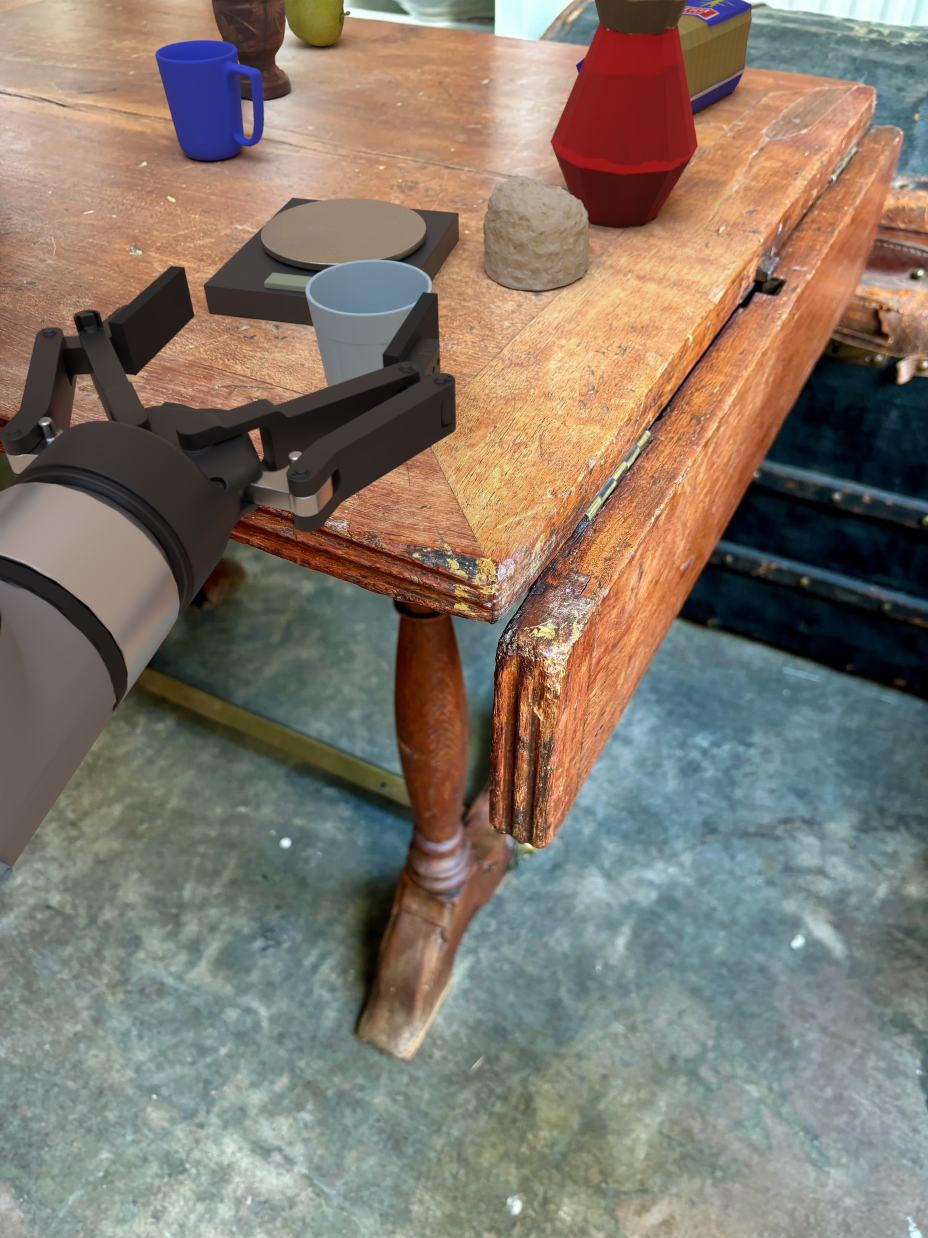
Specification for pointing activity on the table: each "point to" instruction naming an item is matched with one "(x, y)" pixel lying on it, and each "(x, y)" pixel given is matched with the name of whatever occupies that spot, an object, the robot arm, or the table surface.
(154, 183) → the table surface
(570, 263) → the rock
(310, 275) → the scale
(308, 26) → the apple
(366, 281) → the cup
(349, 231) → the scale platform
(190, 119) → the mug
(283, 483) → the robot arm
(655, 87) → the red faceted vase
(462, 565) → the table surface
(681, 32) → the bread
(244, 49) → the mortar and pestle
